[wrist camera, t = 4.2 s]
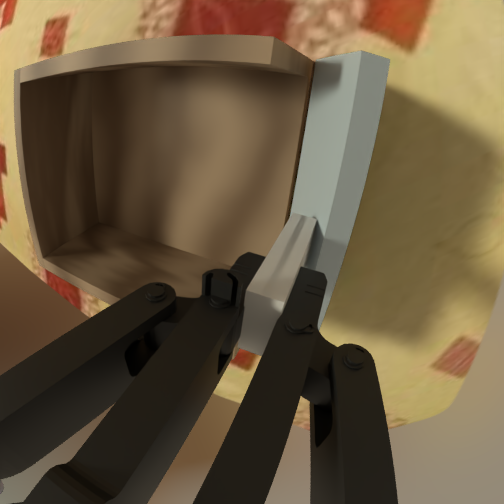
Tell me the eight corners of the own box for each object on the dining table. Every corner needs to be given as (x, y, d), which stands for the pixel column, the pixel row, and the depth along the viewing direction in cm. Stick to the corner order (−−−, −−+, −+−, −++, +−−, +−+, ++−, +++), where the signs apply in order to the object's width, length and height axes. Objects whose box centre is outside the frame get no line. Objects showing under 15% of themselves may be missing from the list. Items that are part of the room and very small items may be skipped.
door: (274, 295, 25) (283, 375, 18) (315, 59, 16) (361, 50, 9) (288, 296, 25) (301, 375, 18) (334, 63, 16) (390, 59, 9)
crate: (99, 225, 31) (39, 265, 24) (93, 61, 22) (14, 70, 15) (275, 284, 26) (233, 359, 19) (313, 61, 17) (273, 36, 10)
